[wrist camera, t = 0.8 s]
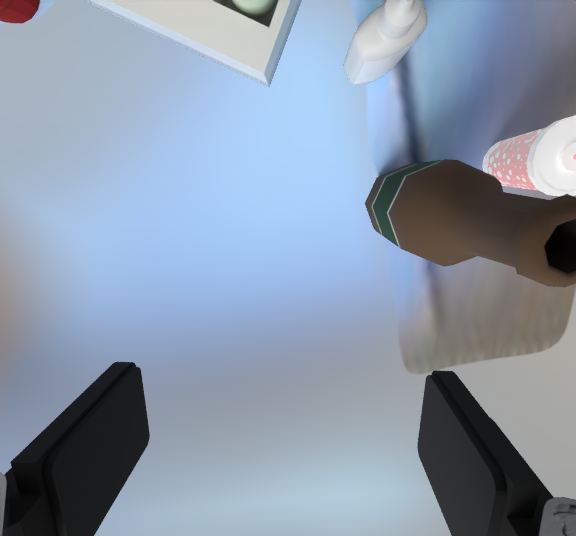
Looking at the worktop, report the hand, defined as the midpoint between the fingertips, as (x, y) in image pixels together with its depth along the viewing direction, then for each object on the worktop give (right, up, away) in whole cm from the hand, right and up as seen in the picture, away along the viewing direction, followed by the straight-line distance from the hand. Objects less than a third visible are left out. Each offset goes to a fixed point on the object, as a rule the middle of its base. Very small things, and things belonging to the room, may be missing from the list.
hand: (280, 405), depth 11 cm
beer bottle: (+12, +12, +25) cm, 30 cm away
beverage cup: (+23, +15, +23) cm, 36 cm away
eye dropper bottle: (+9, +25, +22) cm, 34 cm away
